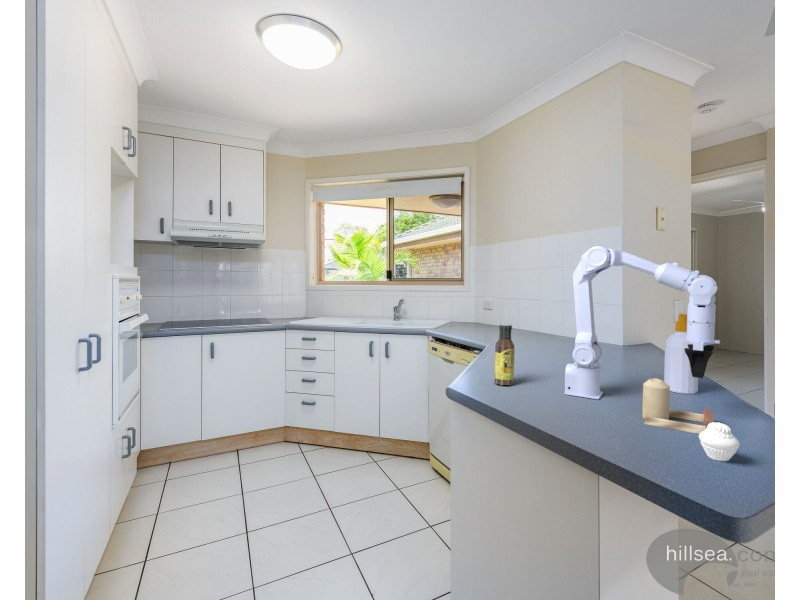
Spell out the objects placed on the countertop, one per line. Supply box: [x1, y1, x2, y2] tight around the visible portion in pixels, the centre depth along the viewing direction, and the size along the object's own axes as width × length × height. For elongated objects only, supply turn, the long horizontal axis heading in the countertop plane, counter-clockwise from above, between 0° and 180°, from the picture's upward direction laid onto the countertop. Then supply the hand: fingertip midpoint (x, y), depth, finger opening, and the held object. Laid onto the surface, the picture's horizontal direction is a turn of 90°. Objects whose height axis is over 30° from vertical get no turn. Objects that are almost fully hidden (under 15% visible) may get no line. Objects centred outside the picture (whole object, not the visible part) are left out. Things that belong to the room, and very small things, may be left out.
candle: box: [641, 377, 671, 420], centre depth 97 cm, size 6×6×10 cm
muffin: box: [698, 421, 740, 462], centre depth 76 cm, size 6×6×7 cm
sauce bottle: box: [493, 323, 515, 386], centre depth 130 cm, size 6×6×20 cm
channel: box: [643, 407, 715, 435], centre depth 94 cm, size 13×11×3 cm
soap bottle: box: [663, 312, 699, 395], centre depth 122 cm, size 9×9×24 cm
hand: (698, 374), depth 102 cm, fingers open, 7 cm apart
